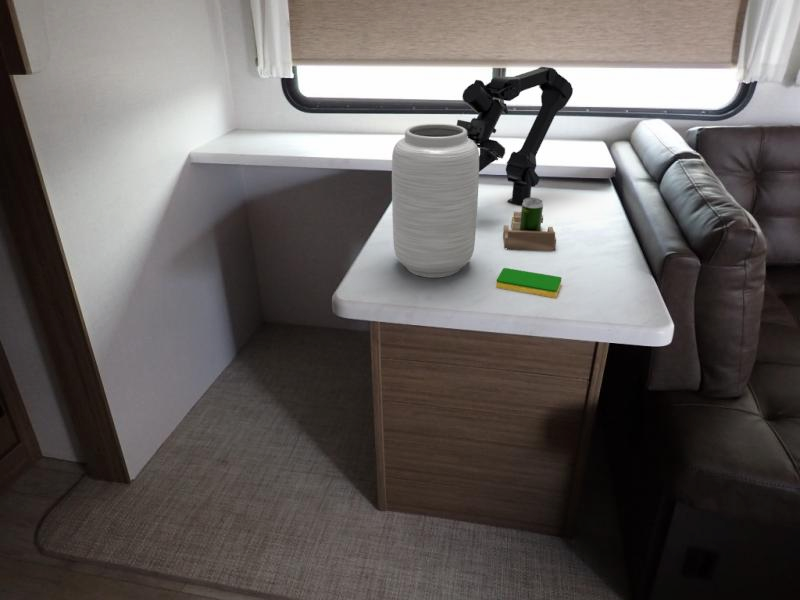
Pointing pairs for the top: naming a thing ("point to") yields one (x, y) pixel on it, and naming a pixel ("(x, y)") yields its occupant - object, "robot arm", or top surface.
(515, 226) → the offcut stack
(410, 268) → the vase
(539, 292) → the dish sponge
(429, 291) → the top surface
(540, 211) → the beer can
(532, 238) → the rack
